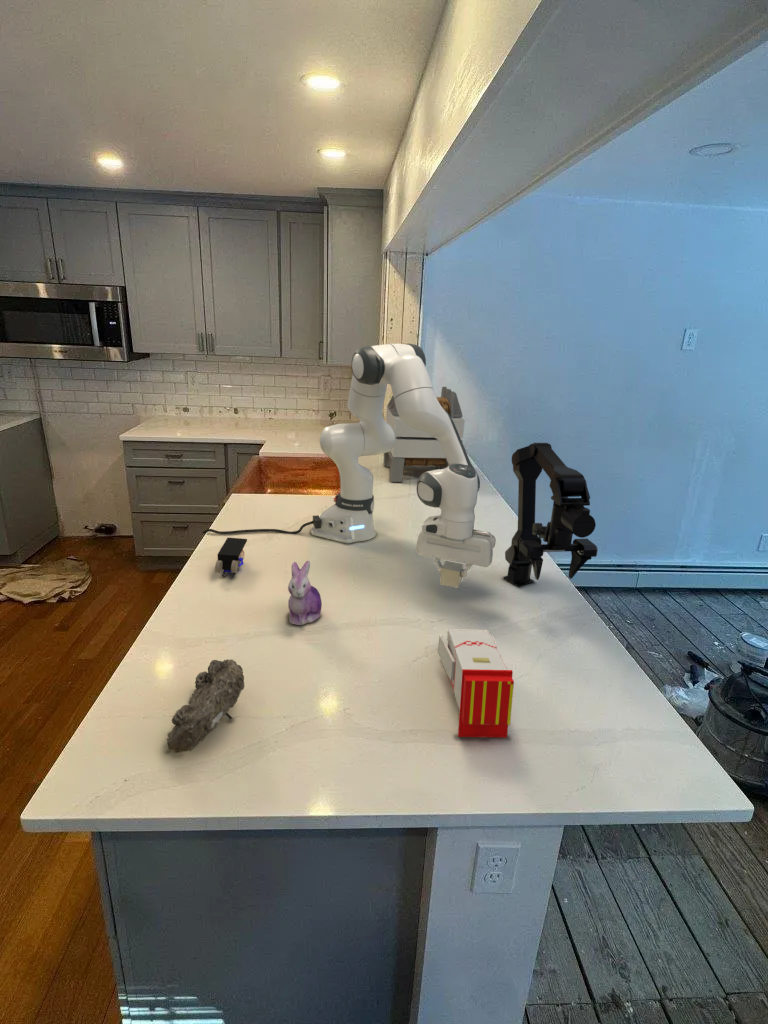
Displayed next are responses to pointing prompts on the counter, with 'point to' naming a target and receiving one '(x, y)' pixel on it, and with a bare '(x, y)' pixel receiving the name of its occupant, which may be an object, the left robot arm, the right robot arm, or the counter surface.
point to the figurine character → (230, 556)
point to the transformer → (419, 439)
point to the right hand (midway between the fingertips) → (553, 578)
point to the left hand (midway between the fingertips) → (451, 574)
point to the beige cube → (451, 574)
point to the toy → (478, 682)
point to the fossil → (206, 705)
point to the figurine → (303, 597)
